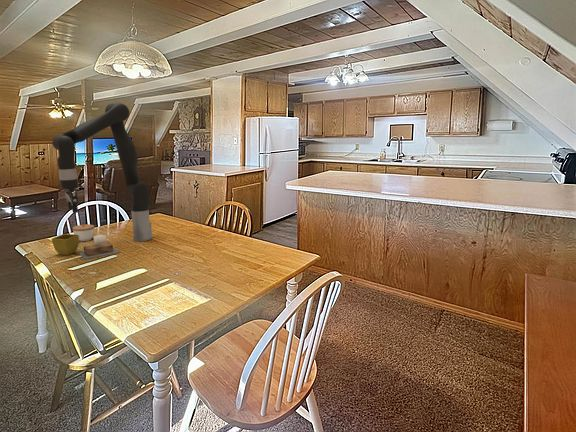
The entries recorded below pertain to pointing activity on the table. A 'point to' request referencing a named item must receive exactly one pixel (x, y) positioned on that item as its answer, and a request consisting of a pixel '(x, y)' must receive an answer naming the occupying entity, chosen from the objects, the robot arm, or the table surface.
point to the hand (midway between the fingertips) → (73, 211)
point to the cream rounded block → (99, 239)
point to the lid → (98, 249)
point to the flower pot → (66, 243)
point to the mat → (98, 254)
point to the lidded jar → (84, 232)
